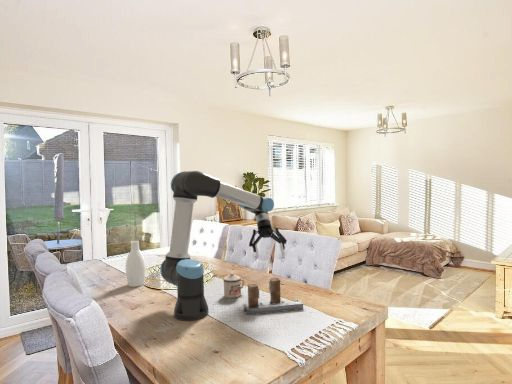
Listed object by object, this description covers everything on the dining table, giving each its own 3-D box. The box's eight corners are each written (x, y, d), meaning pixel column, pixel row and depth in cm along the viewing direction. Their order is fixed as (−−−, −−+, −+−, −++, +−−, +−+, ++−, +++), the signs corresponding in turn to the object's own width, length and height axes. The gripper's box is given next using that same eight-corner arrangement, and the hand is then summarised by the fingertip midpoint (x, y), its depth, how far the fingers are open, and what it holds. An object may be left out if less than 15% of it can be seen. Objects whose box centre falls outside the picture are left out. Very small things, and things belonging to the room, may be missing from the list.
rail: (245, 314, 147) (245, 309, 147) (243, 308, 154) (243, 303, 154) (304, 309, 152) (304, 303, 152) (299, 303, 159) (299, 298, 159)
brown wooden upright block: (271, 303, 159) (270, 281, 159) (269, 300, 163) (268, 278, 163) (280, 302, 160) (280, 280, 160) (278, 300, 164) (278, 277, 164)
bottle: (147, 286, 192) (145, 242, 191) (126, 288, 188) (124, 243, 187) (145, 280, 202) (144, 239, 201) (126, 283, 198) (124, 240, 197)
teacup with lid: (229, 299, 166) (229, 276, 166) (220, 295, 173) (219, 272, 173) (249, 294, 173) (248, 272, 173) (239, 290, 181) (239, 268, 180)
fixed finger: (249, 311, 151) (249, 287, 151) (248, 307, 155) (247, 284, 155) (259, 310, 152) (259, 286, 152) (258, 306, 156) (257, 283, 156)
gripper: (284, 225, 191) (292, 257, 177) (240, 228, 187) (246, 261, 173) (286, 217, 186) (295, 249, 172) (241, 220, 181) (247, 253, 167)
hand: (270, 255), depth 172 cm, fingers open, 13 cm apart
